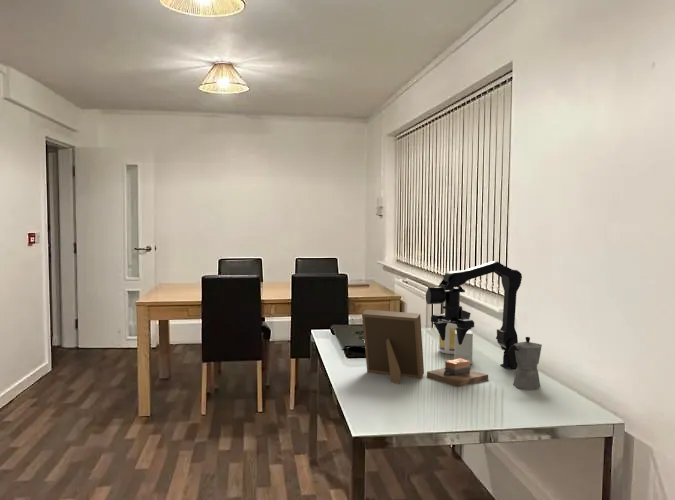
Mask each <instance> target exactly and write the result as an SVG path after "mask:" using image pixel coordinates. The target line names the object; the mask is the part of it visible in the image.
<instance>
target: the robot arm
mask: <svg viewBox="0 0 675 500" xmlns="http://www.w3.org/2000/svg"><path fill="white" fill-rule="evenodd" d="M492 273H494V274H495V275H497V276H498V277H500V279H501V280H500V281H501V285H502V289H503V291H504V292H503V294H504V295H503V305H502V306H503V311H502V324H501V327H500V329H496V337H495V339H496V340H497V344H498V345H499V346H500V348H501V350H503V355H502V357H503V358H502V363H501V364H500V367H503V368H506V369H507V368H508V369H511V370H514V369H515V370H516V368H512V365H511V361H510V358H509V354H508V350H509V348H510V347H511V346H512V345H514V344H516V343H519V341H518V333H517V331H516V328H515V326H516V325H515V324H516V307H517V292H518V290H519V288H520V287H521V285H522V280H523V275H522V273H521V272H520V271H519V270H517V269H512V268H510V267H508V266H506V265H504V264H502V263H501V262H499V261H495V260H492V261H491V260H490V261H489V262H486V263H483V264H479V265H477V266H473V267H470V268H467V269H465V270H464V269H463V270H450V271H447V272H445V273H444V275H443V278H442V280H441V281H440V283H439V284H438V286H427V290H426V293H425V301H426V304H427V305H441V304H443V303H444V305H442V309H443V310H444V313H436V314H432V315H431V317H430V322H432V325H434V327H435V328H436V330H437V332H438V334H440V337H441V339H442V341H444V340H445V332H446V326H447V324H448V323H453V324H457V327H458V328H456V331H457V337H458V343H459V345H461V344H462V342H463V339H464V337H465V334H466V332H467V331H470V330H472V329H473V328H475V322H474V320H473V319H470V317H471V312H469V311H466V310H463V307H462V306H461V305H460V302H461V301H460V300H461V299H460V296H461V293H465V292H466V290H465V289H464V288H463V287H462V285H464V284H466V283H467V282H468V281H470V280H472V279H476V278H478V277H483V276H485V275H489V274H492ZM444 314H445V315H444ZM459 319H462V320H459ZM449 320H451V321H449ZM454 321H455V322H454ZM513 358H514V361H515V365H517V367H518V363H517V362H516V356H515V350H514V351H513Z"/></svg>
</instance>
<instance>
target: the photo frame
mask: <svg viewBox="0 0 675 500" xmlns="http://www.w3.org/2000/svg"><path fill="white" fill-rule="evenodd" d="M361 318H362V319H361V320H362V321H361V322H362V329H363V331H362V332H363V340H364V343H365V349H364V350H365V351H364V352H365V363H366V364H365V365H366V371H367V373H371V374H372V373H373V374H374V373H375V374H381V375H388V376H390V382H392V383H394V384H397V385H400V382H401V377H403V378H404V377H405V378H413V379H420V380H421V379H422V378H423V376H424V374H425V368H424V365H425V364H424V352H423V351H424V349H423V336H422V335H423V334H422V333H423V331H422V319H421V313H418V312H416V313H414V312H406V311H405V312H403V311H401V312H400V311H393V310H392V311H391V310H379V309H378V310H376V309H365V310H364V311H363V312H362V313H361Z"/></svg>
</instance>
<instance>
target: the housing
mask: <svg viewBox="0 0 675 500" xmlns="http://www.w3.org/2000/svg"><path fill="white" fill-rule="evenodd" d="M444 364H445V365H444V368H445V371H444V375H446V376H458V375H463V374H467V373H470V370H471V364H470V361H468V360H465V359H461V358H459V359H449V360H445V361H444Z"/></svg>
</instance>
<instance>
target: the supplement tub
mask: <svg viewBox="0 0 675 500" xmlns="http://www.w3.org/2000/svg"><path fill="white" fill-rule="evenodd" d="M443 314H444V315H445V313H443ZM459 320H462V319H459ZM449 321H451V320H449ZM454 322H455V321H454ZM456 328H458V327H457V324H453V323H448V324H447V326H446V332H445V340H444V341H442V339H441V337H440V334H439V333H438V334H439V335H438V336H439V339H438V340H439V341H438V342H439V347H438V348H439V351H440V353H443V354H446V355H454V351H455V330H456Z"/></svg>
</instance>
